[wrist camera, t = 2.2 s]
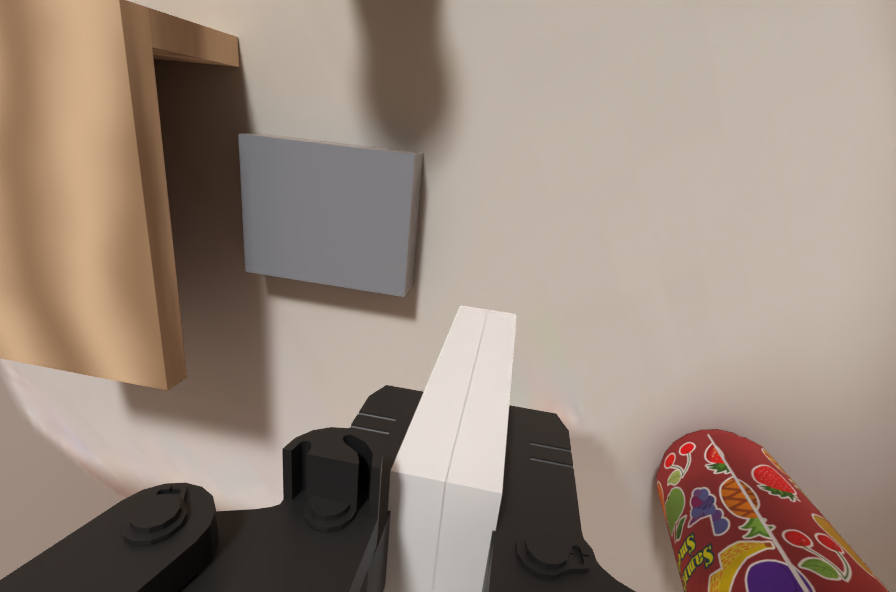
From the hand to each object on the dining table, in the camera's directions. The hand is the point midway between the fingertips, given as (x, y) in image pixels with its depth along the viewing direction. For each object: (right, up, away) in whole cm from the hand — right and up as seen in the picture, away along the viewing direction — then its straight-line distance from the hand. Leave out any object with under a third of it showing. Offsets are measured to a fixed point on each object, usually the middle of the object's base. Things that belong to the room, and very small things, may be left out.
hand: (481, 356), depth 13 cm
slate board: (-8, +7, +16) cm, 19 cm away
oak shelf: (-19, +9, +17) cm, 27 cm away
